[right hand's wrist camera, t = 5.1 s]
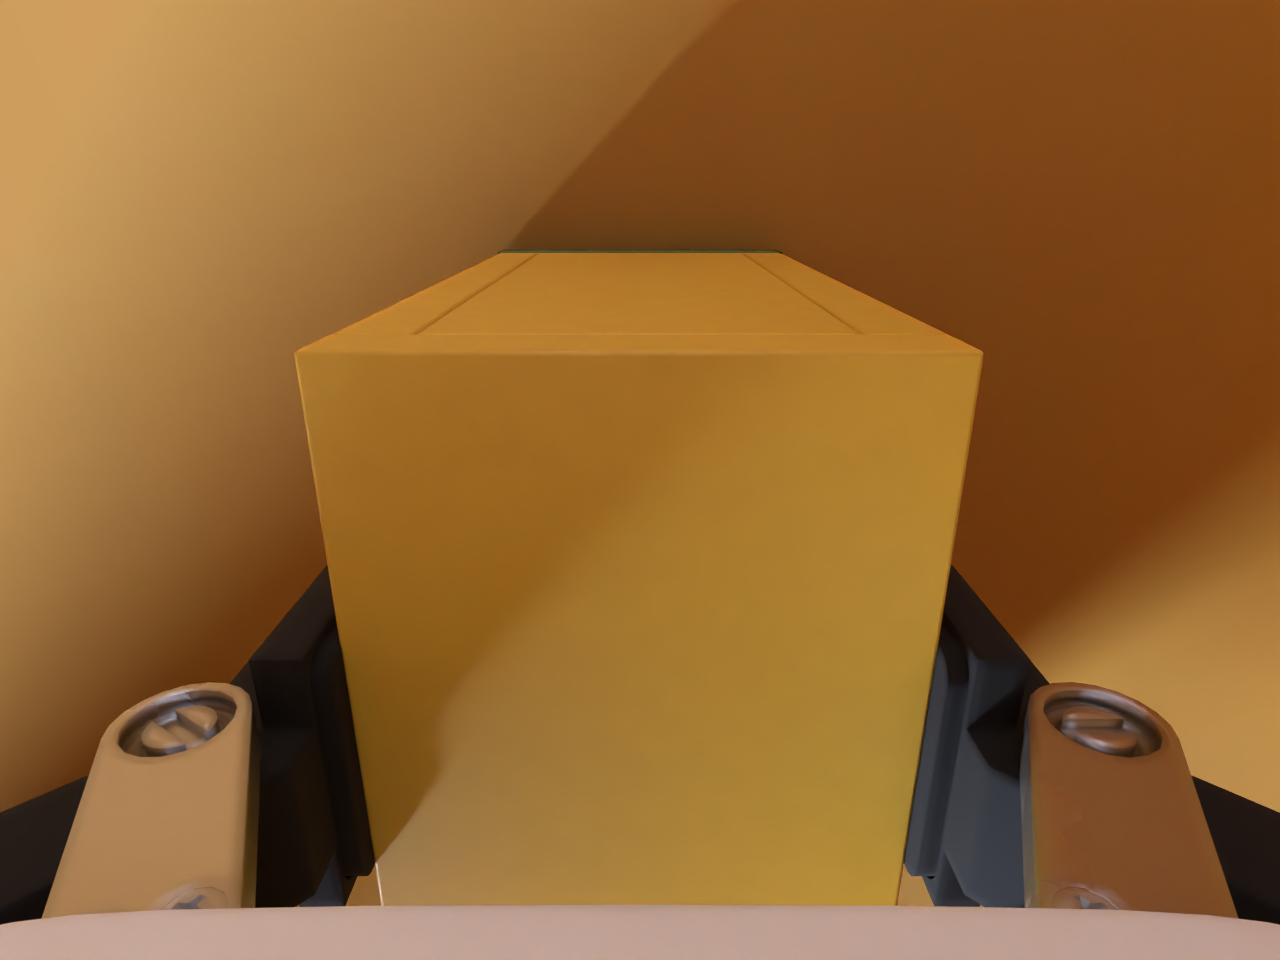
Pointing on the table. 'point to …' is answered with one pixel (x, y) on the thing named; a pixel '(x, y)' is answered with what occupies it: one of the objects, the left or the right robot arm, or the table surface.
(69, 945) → the right robot arm
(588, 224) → the table surface
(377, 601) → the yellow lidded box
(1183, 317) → the table surface
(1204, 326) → the table surface
